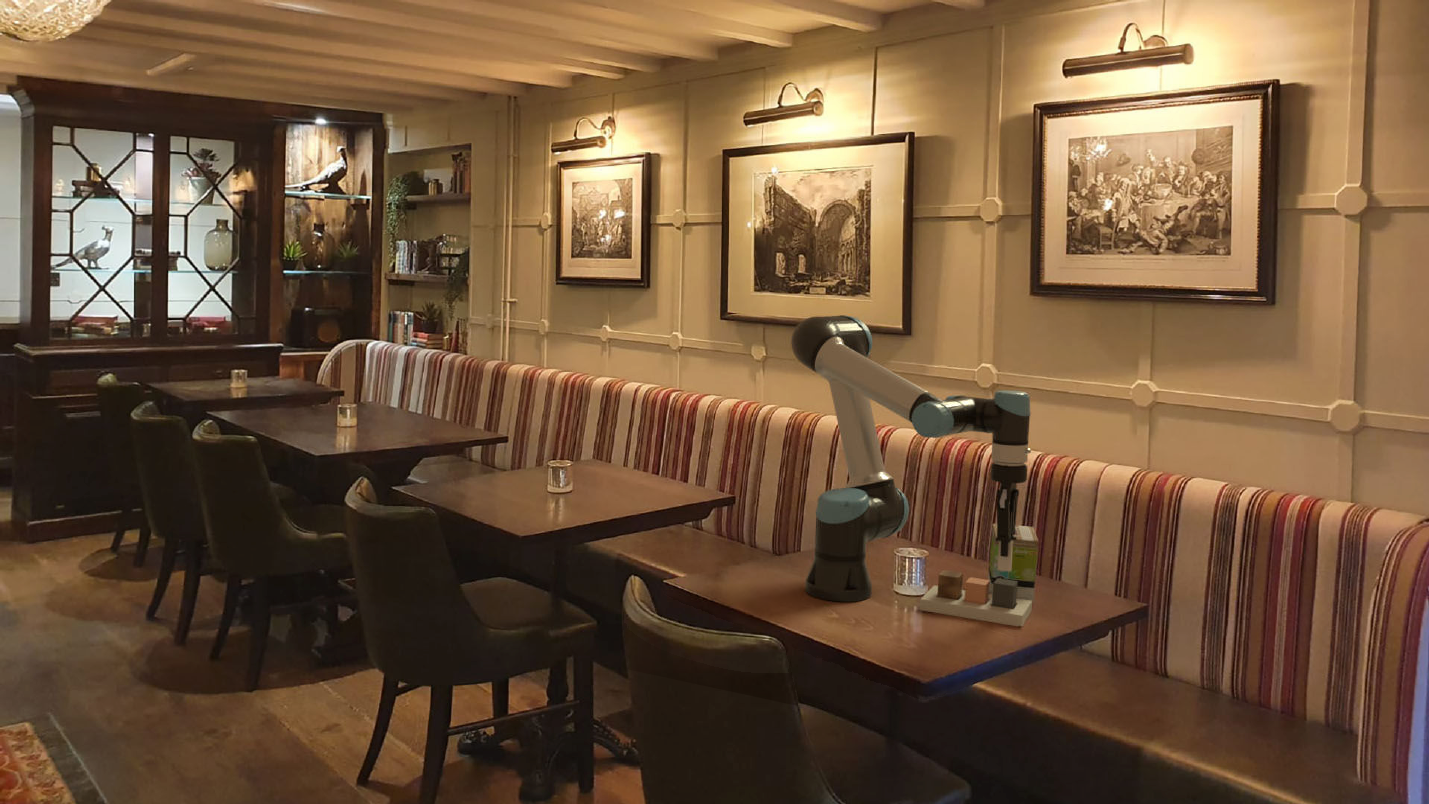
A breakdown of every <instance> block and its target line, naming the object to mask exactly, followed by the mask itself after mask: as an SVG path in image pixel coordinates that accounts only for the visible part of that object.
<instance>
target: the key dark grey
mask: <svg viewBox="0 0 1429 804" xmlns="http://www.w3.org/2000/svg"><path fill="white" fill-rule="evenodd" d="M1017 585H1018V581H1013V580H1006V579H1000V578H997V579H996V581H995V582H994V583H993V596H992V605H993V606H999V607H1005V608H1011V609H1013V607H1014V606H1015V604H1016V599H1017Z"/></svg>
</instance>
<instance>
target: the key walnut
mask: <svg viewBox="0 0 1429 804" xmlns="http://www.w3.org/2000/svg"><path fill="white" fill-rule="evenodd" d="M963 578H964V573H963V572H958V571H953V570H947V569H946V570H944V569H943V570H942V571H941V572H940V573H939V574H938V583H937V586H938V595H937V597H943V598H949V599H955V600H957V599H958V598H959V597H960V596H961V595H962V590H963Z"/></svg>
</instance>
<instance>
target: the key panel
mask: <svg viewBox="0 0 1429 804" xmlns="http://www.w3.org/2000/svg"><path fill="white" fill-rule="evenodd" d="M937 595H938V585H935V584H934V585H933V586H932V587H931V588H930V589H929V590H928V591H927V592H926V593H925V594H924V595H923V596H922V597H921V598H920V602H919V603H920V604H919V611H924V612H929V613H935V614H940V615H941V614H943V615H946V616H954V617H960V618H965V619H972V620H977V621H983V622H989V623H996V624H999V625H1000V624H1001V625H1007V626H1008V625H1009V626H1014V627H1018V626H1021V627H1020V628H1023V626H1024V624H1025V622H1026V621H1027V619H1028V618H1029V616H1030V615H1031V614H1032V608H1033V607H1032V606H1033V602H1032V601H1030V600H1024V599H1016V604H1015V606H1014V607H1013V609H1011V608H1005V607H999V606H993V605H992V596H993V595H992V594H990V593H989V601H988V602H987V604H986V605H984V604H978V603H971V602H965V601H964V599H965V589H962V595H961V596H960V597H959V598H958V599H957V600H955V599H949V598H943V597H937Z"/></svg>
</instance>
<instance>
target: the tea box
mask: <svg viewBox="0 0 1429 804" xmlns="http://www.w3.org/2000/svg"><path fill="white" fill-rule="evenodd" d="M991 527H992V528H991V536H990V537H991V539H990V547H989V549H990V551H989V562H988V563H989V564H988V574H987V580H990V586H989V594H992V595H993V583H994V582H995V581H996V579H997V578H1000V579H1006V580H1013V581H1018V585H1017V599H1024V600H1030V601H1032V603H1033V602H1034V597H1035V587H1036V586H1035V585H1036V578H1037V577H1036V574H1037V567H1038V566H1037V564H1038V553H1039V539H1038V536H1037V533H1036V530H1035V527H1034V526H1026V525H1016V526H1015V535H1013V536H1014V537H1017V539H1016V540H1011V541H1013V549H1012V570H1011V571H1002V570H998V550H999V541H995V538H996V537H997V523H992V525H991Z"/></svg>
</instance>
